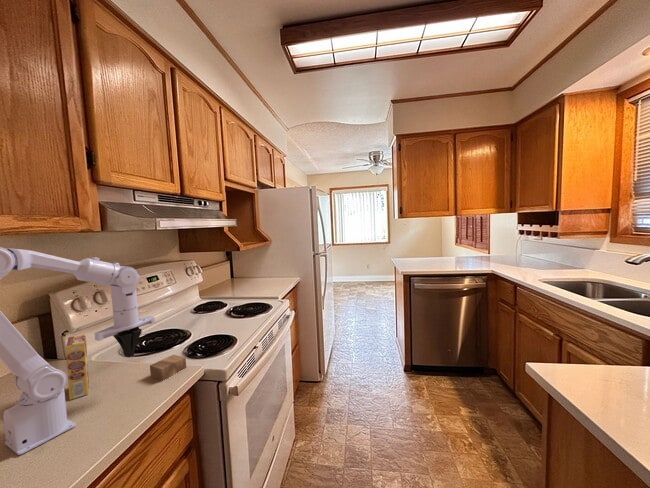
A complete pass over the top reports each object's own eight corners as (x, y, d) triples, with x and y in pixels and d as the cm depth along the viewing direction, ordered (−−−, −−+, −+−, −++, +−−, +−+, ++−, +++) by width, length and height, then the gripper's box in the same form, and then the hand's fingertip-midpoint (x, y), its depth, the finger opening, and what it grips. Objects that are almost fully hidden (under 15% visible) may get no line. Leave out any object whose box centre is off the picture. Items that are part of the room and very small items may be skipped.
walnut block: (162, 369, 84) (185, 357, 91) (149, 365, 87) (173, 354, 94) (163, 381, 84) (186, 369, 91) (150, 377, 87) (174, 366, 94)
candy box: (89, 394, 79) (84, 341, 78) (69, 400, 76) (63, 346, 75) (90, 381, 86) (86, 333, 85) (71, 387, 83) (66, 337, 82)
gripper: (143, 300, 86) (146, 343, 87) (86, 314, 73) (91, 364, 74) (157, 302, 83) (161, 347, 84) (101, 317, 70) (105, 370, 71)
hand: (129, 355), depth 79 cm, fingers closed
